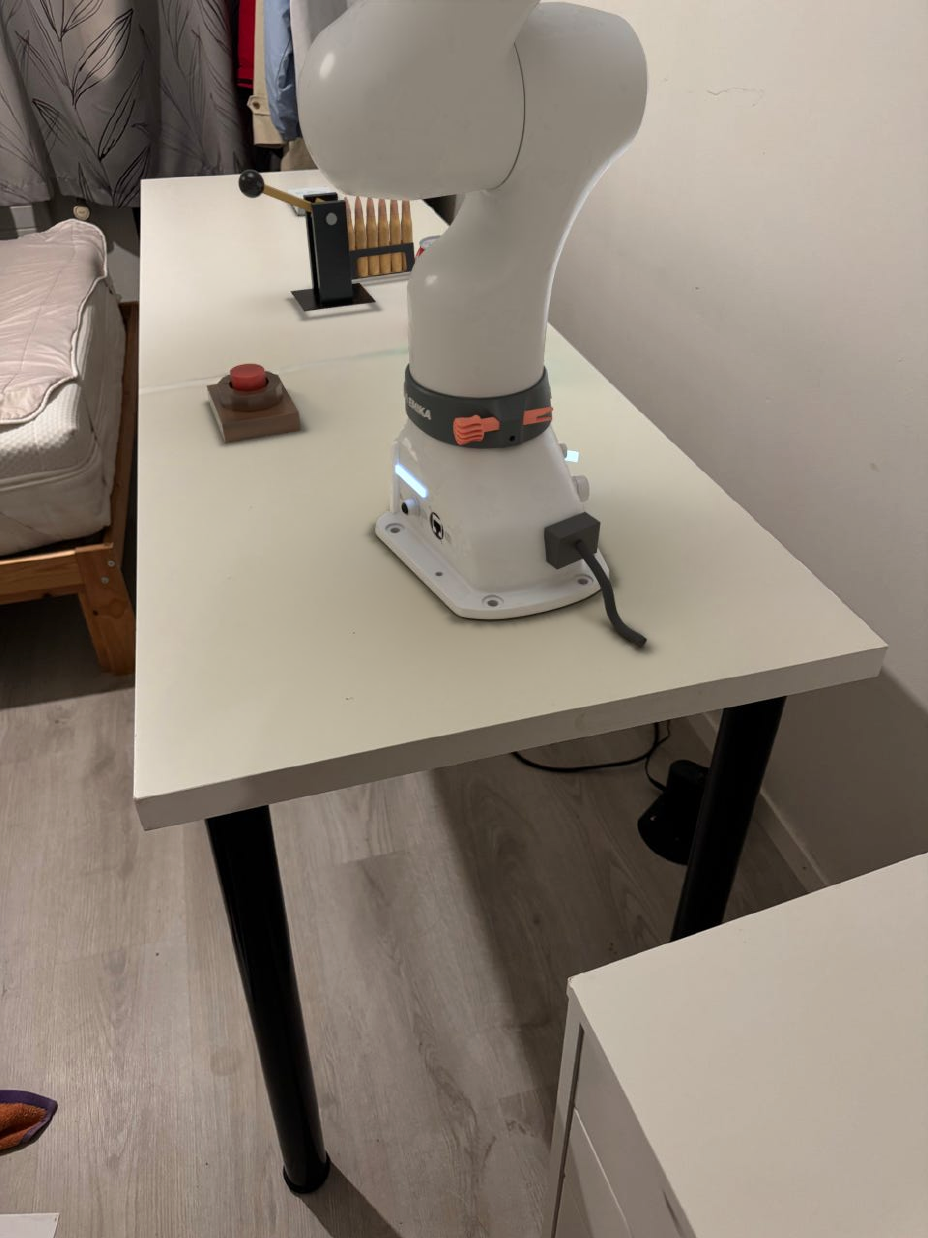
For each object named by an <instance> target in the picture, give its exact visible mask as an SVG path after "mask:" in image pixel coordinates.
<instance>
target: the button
mask: <svg viewBox="0 0 928 1238" xmlns="http://www.w3.org/2000/svg"><path fill="white" fill-rule="evenodd" d="M265 371H266V370H265V367H264V366H263V365H262V364H258V363H241V364H238V365H235V366H233V367H232V368H231V369H230V370H229V375H230V377H231V383H232V388H233V389H235V390H237V391H254V390H259V389H261V388H263V387H266V385H267V384H266V377H265Z"/></svg>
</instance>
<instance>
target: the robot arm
mask: <svg viewBox="0 0 928 1238" xmlns="http://www.w3.org/2000/svg"><path fill="white" fill-rule="evenodd" d="M541 1H542V0H355V1H354V3H353V4H352V5H351V6H350V7H349V8H348V9H346V11H344V12H343V13H342V14H340V16H339V17H338V18H337V19H335V20H334V21H333V22H331V23H330V24H329V25H327V26H326V27H325V28H324V29H322V30H320V32H319V33H318V34H317V35H316V37H315V39H314V40H313V42H312V43H311V45H310V47H309V49H308V50H307V54H306V56H305V57H304V60H303V64H302V66H301V70H300V74H299V79H298V86H297V96H296V97H297V98H296V100H297V101H296V102H297V115H298V117H297V118H298V122H299V127H300V132H301V134H302V135H301V136H302V139H303V141H304V144H305V147H306V149H307V151H308V153H309V155H310V157H311V159H312V161H313V163H314V164H315V166H316V167H317V168H318V170H319V172H320V173H321V174H322V176H323V177H324V178H325V179H326V180H327V181H328V182H329V183H330V185H332V186H333V187H334V188H335V189H336V190H337V191H339V193H341V194H343V195H345V196H351V197H357V196H359V198H372V199H378V200H379V199H385V200H389V201H390V200H397V201H401V202H402V201H409V202H411V201H412V202H413V201H419V200H425V199H426V200H427V199H433V198H439V197H447V196H453V195H460V194H465V195H464V198H463V201H462V203H461V205H460V208H459V210H458V212H457V214H456V216H454V219H453V221H452V222H451V223H450V225H449V226H448V228H447V229H446V230H445V231H444V232H443V233H442V234H440V235H441V236H440V237H439V238H438V239H437V240H436V241H435V242H433V243H432V244H431V245H430V246H429V247H428V248H426V249H425V250H424V251H423V252H422V254H421V255H420V256H419V257H418V259H417V260H416V262H415V264H414V266H413V268H412V270H411V272H409V276H408V280H407V285H406V302H407V303H406V304H407V305H406V306H407V331H408V332H407V334H408V335H407V336H408V359H409V362H408V364H407V365H406V367H405V370H404V382H403V397H404V406H405V408H404V409H405V410H404V411H405V414H406V415H407V418H406V421H405V423H404V425H403V427H402V429H401V430H400V432H399V433H398V435H397V437H396V438H395V439H394V440H393V443H392V444H391V446H390V470H389V471H390V475H389V476H390V479H389V480H390V482H389V483H390V484H389V509H388V510H387V511H385V512H384V513H382V515H380V517H378V518H377V520H376V521H375V531H374V532H375V533H374V534H375V535H376V536H377V537H378V538H379V540H380V541H382V543H384V544H385V545H386V546H387V547H388V549H390V550H391V551H392V552H393V553H394V554H395V556H397V557H398V559H400V560H401V561H402V562H403V563H404V564H405V566H407V567H408V569H410V570H411V571H412V572H413V573H414V574H415V575H416V576H417V578H419V579H420V580H421V581H422V582H423V583H424V584H425V585H426V586H427V587H428V588H429V589H430V590H431V591H432V592H433V593H434V595H436V596H437V597H438V598H439V599H440V601H442V602H443V603H444V604H445V605H446V606H447V607H448V608H449V609H450V610H451V611H452V612H453V613H454V614H456V615H457V616H458V617H461V618H468V619H475V620H501V619H511V618H520V617H525V616H530V615H536V614H540V613H544V612H549V611H551V610H555V609H559V608H562V607H567V606H568V605H572V604H575V603H577V602H579V601H582V600H584V599H586V598H588V597H591V596H592V595H594V594H595V593H597V592H598V591H600V590H601V593H602V597H603V601H604V608H605V612H606V616H607V618H608V620H609V622H610V624H611V626H612V627H613V629H614V630H616V631H617V633H618V634H619V635H621V636H622V637H623V638H625V639H627V640H629V641H631V642H632V643H634V644H635V645H637V646H638V647H639V648H643V647H644V646H645V645H646V644H647V641H648V638H647V637H645V636H644V635H642V633H639V632H637V631H636V630H634V629H632V628H630V627H629V626H628V625H626V623H624V621H623V619H622V618H621V616H620V614H619V612H618V608H617V604H616V600H615V593H614V589H613V586H612V584H611V581H610V568H609V567H608V564H607V562H606V561H605V558H604V556H603V554H602V553H601V550H600V549H599V540H600V531H601V524H602V522H601V521H600V520H598V519H597V518H595V517H594V516H592V515H591V514H589V513H588V512H586V511H584V508H583V504H582V503H585V502H587V501H588V500H589V498H590V483H589V480H588V478H587V476H586V475H583V474H579V475H572V474H571V472H570V468H569V466H568V464H567V461H568V462H575V463H578V461H579V452H578V451H574V450H568V446H567V444H566V443H565V442H564V443H563V442H561V443H559V440H558V437H557V435H556V433H555V430H554V427H553V426H552V422H553V411H554V407H553V406H552V397H553V396H552V391H551V390H552V388H551V386H550V382H549V374H548V368H547V367H546V365H545V353H546V342H547V341H546V340H547V333H548V332H547V331H548V330H547V329H548V321H549V312H550V303H551V295H552V288H553V282H554V279H555V273H556V270H557V266H558V263H559V261H560V257H561V254H562V251H563V249H564V246H565V243H566V240H567V238H568V236H569V233H570V232H571V230H572V227H573V225H574V223H575V221H576V219H577V217H578V215H579V212H580V211H581V209H582V207H583V206H584V204H585V202H586V200H587V198H588V196H589V195H590V194H591V192H592V191H593V189H594V188H595V186H596V184H597V183H598V182H599V180H600V179H601V178H602V176H603V175H604V174H605V173H606V172H607V171H608V170H609V169H610V167H612V165H613V164H614V163H615V162H616V161H617V160H618V159H620V157H622V155H623V154H625V152H627V151H628V150H629V148H630V147H631V146H632V144H633V143H634V141H635V139H636V137H637V136H638V134H639V131H640V129H641V127H642V124H643V121H644V118H645V114H646V110H647V107H648V101H649V92H650V77H649V69H648V63H647V58H646V54H645V51H644V48H643V46H642V42H641V41H640V38H639V36H638V34H637V32H636V31H635V29H634V28H633V27H632V25H631V24H630V23H629V22H628V21H627V20H626V19H625V18H623V17H622V16H620V15H618V14H615V13H612V12H608V11H605V10H601V9H598V8H594V7H590V6H586V5H580V4H577V3H572V2H568V1H545V2H541Z"/></svg>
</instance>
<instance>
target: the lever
mask: <svg viewBox="0 0 928 1238" xmlns="http://www.w3.org/2000/svg"><path fill="white" fill-rule="evenodd" d="M237 182H238V188H239V191H240V192H241V193H242V195H243V196H244V197H246V198H249V199H257V198H259V197H260V196H261V195H262V194H263V195H265V196H268V197H270V198H273V199H275V200H278V201H281V202H283V203H286V204H288V205H291V206H292V207H293V206H296V207H299V208H301V209H304V210H306V211H309V212H311V202H309V201H306V200H304V199H301V198H299V197H296V196H294V195H291V194H289V193H287V191H283V190H281V189H278V188H276V187H273V186H271V185H268V184H266V183H265V179H264V177H263V176H262V174H261V173H260V172H258V171H257V170H254V169H246V170H244V171H243V172H242V173H240V175H239V177H238V181H237ZM316 202H326V201H324V200H321V199H318V198H316V201H315V203H316ZM311 213H312V212H311ZM311 217H312V214H311Z"/></svg>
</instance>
